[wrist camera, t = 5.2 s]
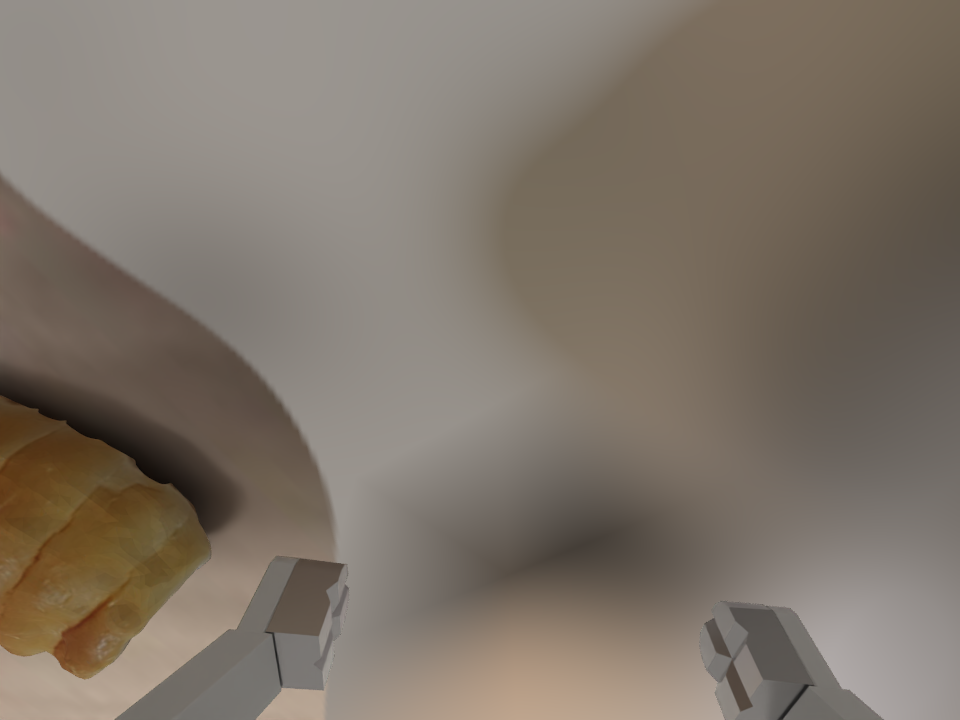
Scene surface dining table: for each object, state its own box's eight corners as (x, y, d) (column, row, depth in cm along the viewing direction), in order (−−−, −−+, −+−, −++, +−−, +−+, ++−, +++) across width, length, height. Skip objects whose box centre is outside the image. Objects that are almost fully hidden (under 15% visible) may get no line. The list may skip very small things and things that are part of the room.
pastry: (-122, 454, 14) (-316, 560, 11) (-74, 309, 12) (-311, 391, 8) (160, 601, 17) (72, 722, 14) (251, 510, 14) (170, 633, 11)
